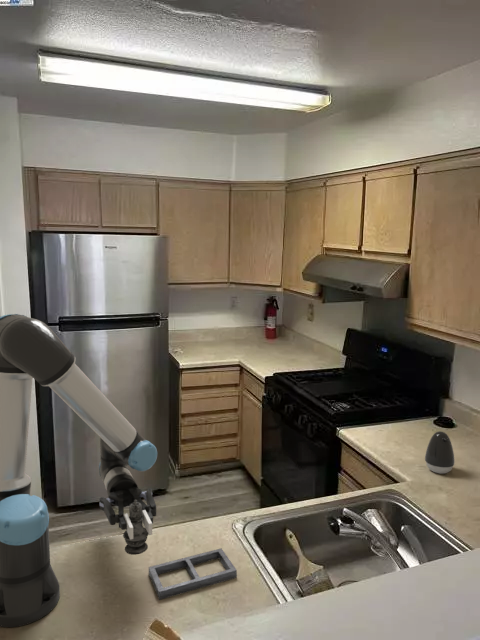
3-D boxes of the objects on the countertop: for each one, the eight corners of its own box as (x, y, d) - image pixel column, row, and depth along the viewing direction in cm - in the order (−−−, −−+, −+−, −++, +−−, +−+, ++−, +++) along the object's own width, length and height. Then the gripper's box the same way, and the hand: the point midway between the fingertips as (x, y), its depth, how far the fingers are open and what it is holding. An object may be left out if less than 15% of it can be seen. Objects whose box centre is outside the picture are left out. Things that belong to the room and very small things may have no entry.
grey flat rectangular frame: (159, 600, 111) (159, 591, 111) (148, 574, 120) (148, 567, 120) (236, 577, 119) (236, 570, 119) (221, 555, 128) (221, 548, 128)
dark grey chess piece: (150, 540, 116) (150, 492, 114) (147, 555, 110) (146, 505, 108) (126, 540, 115) (125, 493, 114) (120, 555, 110) (119, 505, 108)
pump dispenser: (431, 477, 175) (433, 436, 173) (420, 465, 186) (422, 427, 184) (459, 476, 176) (461, 436, 174) (446, 464, 186) (448, 426, 184)
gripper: (152, 494, 132) (177, 538, 111) (89, 506, 125) (103, 556, 104) (151, 468, 131) (177, 507, 110) (88, 478, 124) (102, 523, 103)
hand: (141, 531), depth 107 cm, fingers closed on dark grey chess piece, 3 cm apart
